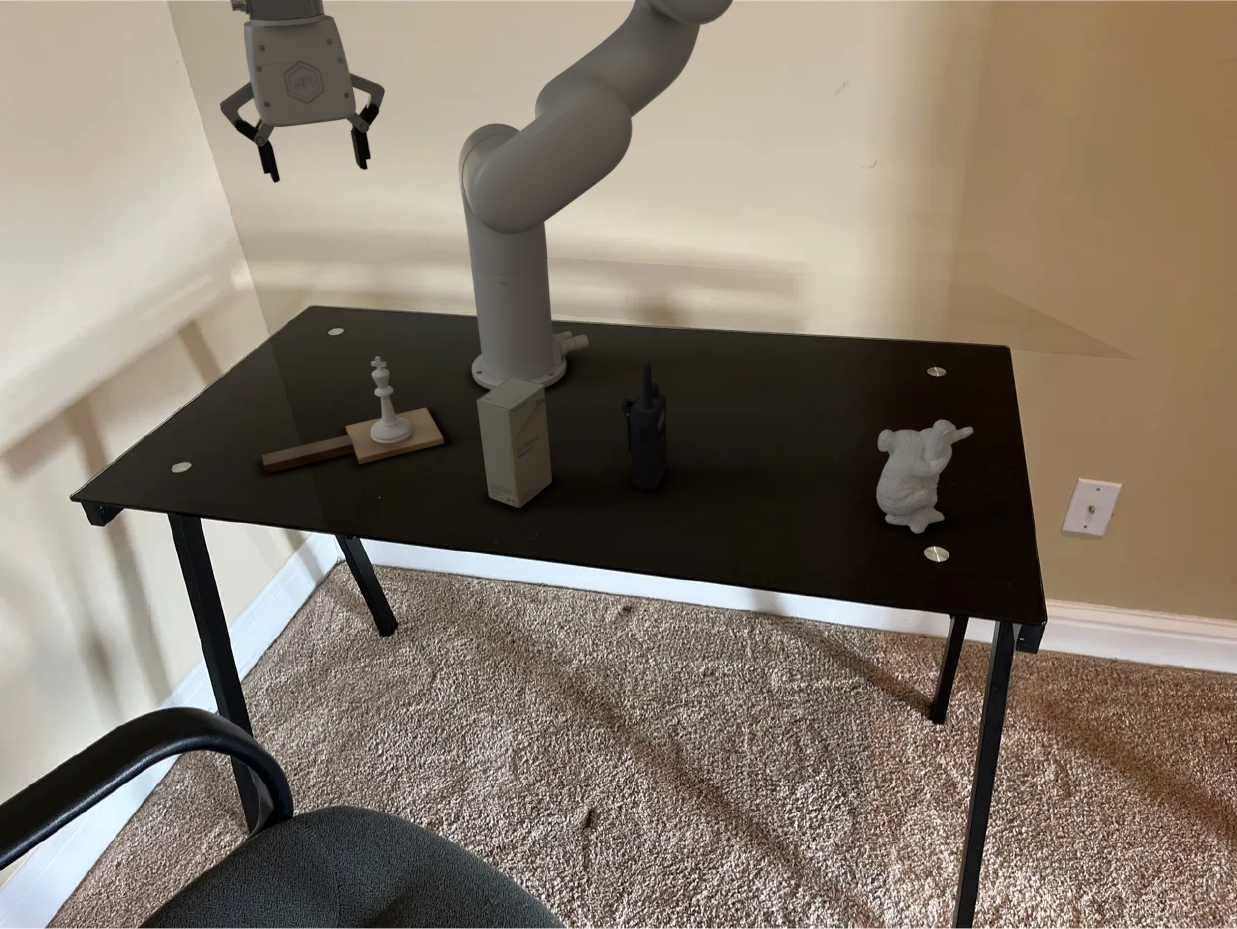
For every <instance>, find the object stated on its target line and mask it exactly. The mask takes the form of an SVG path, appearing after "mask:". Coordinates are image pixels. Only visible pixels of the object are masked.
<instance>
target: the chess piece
mask: <svg viewBox="0 0 1237 929" xmlns="http://www.w3.org/2000/svg"><path fill="white" fill-rule="evenodd" d="M370 366H371V367H376V369H375V370H373V371H372V373H371V377H372V379H373V380H374V382H375V384H376V385H377V388H375V389H374V395H375V396H377V397H379V398H380V404H381V406H380V407H381V418H382V419H381V420H379V421H378V422H376V423H375V424H374V425H373V426H372V427H371V438H372V439H373V440H375V441H376V442H380V443H395V442H399V441H402V440H404V439H406V438H407V437H409V436H410V435H411V433H412V431H413V428H412V426H411V423H410V421H409V420H407V419H405V418H401V417H397V416H396V412H395V409H394V407H393V403H392V400H391V397H390V395H392V394H393V393H394V388H393V387H392V386H390V385H389V378H390V374H391V372H390V370H389V369H388V368H386V367H387V366H388V364H387V361H382V359H381V356H378V355H376V356H375V357H374V360H372V361H370Z"/></svg>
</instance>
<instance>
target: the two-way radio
mask: <svg viewBox="0 0 1237 929" xmlns="http://www.w3.org/2000/svg"><path fill="white" fill-rule="evenodd" d="M666 398H667V397H666V396H665V395H664V394H663V393H660V388H659V384H658V383H657V382H653V375H652V363H651V362H650V361H645V362H644V363H643V371H642V394H640V395H639V396H638V397H636V399H634V401H631V398H629V397H623V399H622V400H621V411H622V414H623V415H624V418H625V421H626V428H627V448H628V450H627V451H628V452H629V453H630V454H631V455H630V456H631V459H630V460H631V482H632V484H633V485H634V486H636V487H637V488H638V489H642V490H653V489H656V488H658V486H659V485H660V483H661V481H662V479H663V477H664V474H665V472H666V466H667V445H668V439H667V432H668V429H667V399H666Z"/></svg>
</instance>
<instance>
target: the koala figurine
mask: <svg viewBox="0 0 1237 929" xmlns="http://www.w3.org/2000/svg"><path fill="white" fill-rule="evenodd" d="M974 431H975V430H974V428H973V427H972V426H966V427H963V428H961V429H957V428H956V426H955V424H953V423H952V422H951V421H949V420H946V419H939V420H937V421H935V422H934V424H933V426H932V427H929V428H924V429H922V430H921V431H917V430H913V429H900V430H897V431H893V430H891V429H884V430H882V431H881V432H880V433H879V434H878V439H877V448H878V450H879V451H880V452H883V453H884V452H888V454H889V457H888V460H887V462H886V463H885V465H884V467H883V470H882V472H881V475H880V477H879V480H878V482H877V486H876V496H875V497H876V498H875V499H876V501H877V505H878V507H879V508H880V510H881V511H882V512H884V513H886V515H885V517H884V518H885V519H884V520H885V521H886V523H888V524H890V525H898V526H908V527H909V528H910V529H909V530H910V531H912V533H914V534H917V535H918V534H923V533H924V532H925V530H926V528H927V527H928V526H929V525H931V524H934V523H938V522H943V521H944V520H945V516H944V514H943V513H942V512H940V511H938V510H936V508H934V507H935V505H936V504H937V502H938V495H937V494H938V493H937V492H938V489H937V488H938V483H939V480H940V474H941V473H942V472H943V471H944V470H945V468H947V466H948V464H949V462H950V461H951V458H952V454H953V448H952V444H953V443H956V442H958V441H960V440H962V439H966V438H967V437H969V436H971V435H972V434H973V433H974Z"/></svg>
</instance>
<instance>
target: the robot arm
mask: <svg viewBox="0 0 1237 929" xmlns="http://www.w3.org/2000/svg"><path fill="white" fill-rule="evenodd" d="M733 2H734V0H634V2H633V5H632V8H631V10H630V12H629V14H628V16H627V17H626V19H625V20H624V21H623V22H622V24H621V25H619V27H617V28H616V29H615V30H614V32H612V33H611V34H610V35H609V36H608V37H606V38H605V39H604V40H603V41H602V42H600V44H598V45H597V46H595V47H594V48H592V49H591V50H590V51H589V52H588V53H586V54H585V55H584V56H582V57H581V58H579V59H578V60H577V61H576V62H574V63H573V64H572V65H570V66H568V67H567V68H566V69H565V70H563V71H561V72H560V73H559V74H557V75H555V77H553V78H552V79H550V81H548V82H547V83H546V84H545V85H544V86H543V88H542V89H541V90H540V91H539V93H538V95H537V97H536V101H535V105H534V120H532V121H531V122H530V123H528V124H527V125H526V126H524V127H523V128H522V129H521V130H519V129H518V128H516V127H513V126H511V125H508V124H505V123H487V124H485V125H482V126H480V127H478V128H477V129H475V130H473V131H472V132H471V133H470V135H468V137H467V138H466V139H465V141H464V142H463V144H462V146H461V149H460V152H459V156H458V163H457V171H458V172H457V173H458V182H459V188H460V194H461V199H462V206H463V212H464V219H465V225H466V234H467V242H468V250H469V258H470V268H471V276H472V277H471V278H472V285H473V286H472V287H473V294H474V301H475V309H476V310H475V311H476V318H477V325H478V326H477V327H478V334H479V344H480V351H481V354H479V355H478V356H477V357H476V358H475V359H474V360H473V362H472V364H471V374H472V378H473V380H474V381H475V382H476V383H477V384H478V385H479V386H481V387H482V388H484V389H488V390H489V391H491V390H492V389H494V388H495V387H497V386H498V385H500V384H501V383H503V382H504V381H506V380H508V379H509V378H510V377H518V378H521V379H525V380H528V381H532V382H535V383H538V384H542V385H544V389H545V388H547V387H550V386H552V385H554V384H555V383H557V382H558V381H559V380H561V378H563V377H564V376H565V374H566V372H567V358H566V356H567V355H568V353H570V352H577V351H581V350H586V349H588V348H589V339H588V336H587V335H586V334H585V333H584V334H580V335H576V336H573V332H572V331H571V330H567V331H563V332H560V333H557V334H555V332H553V321H552V320H553V319H552V310H551V309H552V308H551V295H550V294H551V293H550V282H549V266H548V247H547V235H546V225H545V222H547V221H548V220H549V219H551V218H552V217H554V216H555V215H556V214H558V213H559V212H560V211H562V210H563V209H565V208H566V207H567V206H568V205H570V204H571V203H573V202H574V201H576V200H577V199H578V198H579V197H581V196H582V195H584V194H585V193H587V191H589V190H590V189H592V188H593V187H594V186H595V185H597V184H599V183H600V182H601V181H602V180H604V179H605V178H606V177H608V175H610V174H611V173H612V172H613V171H614V170H615V169H616V168H617V167H618V165H619V164H620V163H621V162H622V160H623V159H624V157H625V155H626V154H627V152H628V150H629V148H630V146H631V142H632V137H633V117H634V116H636V115H637V114H638V113H640V112H641V111H642V110H643V109H645V107H648V105H649V104H651V103H652V102H653V101H654V100H656V99H657V98H658V97H659V96H660V95H661V94H662V93H664V92H665V91H666V90H667V89H668V88H670V87H671V85H672V84H673V83H674V82H675V81H676V80H677V79H678V78H679V76H680V75H681V74H682V72H683V71H684V70H685V68H686V67H687V64H688V63H689V60H690V59H691V56H692V54H693V52H694V49H695V46H696V43H697V41H698V40H697V39H698V36H699V33H700V29H701V26H702V25H707V24H711V23H713V22H714V21H716V20H718V19H719V18H721V17H722V16H723V15H724V14H725V13H726V12H727V11H728V10H729V9H730V7H731V5H732V4H733ZM229 3H230V7H231V11H232V12H240V13H244V14H245V15H247V16H248V20H247V21H244V23H243V39H244V46H245V55H246V56H245V57H246V64H247V71H248V76H249V81H248V82H247V83H246V84H244V85H243V86H242V87H240V88H239V89H237V90H236V91H235V92H233V93H232V94H230V95H229V96H228V97H227V98H224V100H222V101H221V102H220V103H219V105H218V106H219V110H220V111H221V113H222V115H224V116H225V118H226V119H227V120H228V121H229V123H230V124H231V125H232V126H233V127H234V128H235V130H236V131H237V132H238V133H240V134H241V135H243V136H244V137H246V138H247V139H248V140H249V141H251V142H252V143H254V144H255V145H256V147H257V152H258V155H259V159H260V163H261V167H262V171H263V174H264V175H268V174H269V175H270V178H271V180H272V182H273V183H274V184H277V183H279V182H280V181H281V177H280V172H279V169H278V164H277V159H276V156H275V151H274V148H273V145H272V143H271V141H270V140H269V138H270V136H271V135H272V133H273V131H274V130H275V128H286V127H296V126H305V125H313V124H320V123H328V122H336V121H343V120H347V121H348V122H349V123H350V124H351V126H352V127H351V130H350V137H351V141H352V147H353V153H354V159H355V163H356V165H357V167H359V169H360V170H362V171H366V170H368V169H369V168H368V162H367V161H368V160H371V159H372V155H371V150H370V143H369V138H368V132H369V131H370V127H371V125H372V124H373V122H374V121H375V119H376V118H377V117H378V115H379V114H380V108H381V106H382V103H383V99H384V96H385V94H386V89H385V88H384V87H383V86H382V85H381V84H380V83H377V82H374V81H372V80H369V79H367V78H364V77H362V76H359V75H357V74H354V73H352V72H350V69H349V64H348V60H347V57H346V52H345V49H344V45H343V41H342V39H341V35H340V32H339V28H338V26H337V24H336V23H337V22H336V21H335V18H334V17H333V16H331V15H327V14H326V13H325V8H324V3H323V0H229ZM354 89H356V90H359V91H362V92H364V93H367V94H368V98H367V103H366V104H365V105H364V107H363V108H362V110H361V111H360V113H358V112H357V103H356V96H355V91H354ZM252 99H253V101H254V105H255V108H256V111H257V113H258V115H259V118H258V120H257V121H256V124H255V126H254V125H252V124H251V123H250V122H248V121H247V120H245V119H244V118H243V117H242V116H241V114H240V113H239V110H240V108H242V107H243V106H244V105H246V104H247V103H248V102H250V101H251V100H252Z"/></svg>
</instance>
